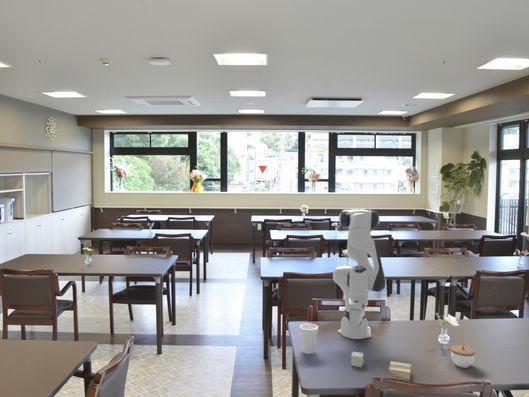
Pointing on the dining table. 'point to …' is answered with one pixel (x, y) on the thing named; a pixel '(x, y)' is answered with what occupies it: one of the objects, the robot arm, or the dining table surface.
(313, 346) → the foam cup
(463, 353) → the lidded jar
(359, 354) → the green cube
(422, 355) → the dining table surface
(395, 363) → the oak base
